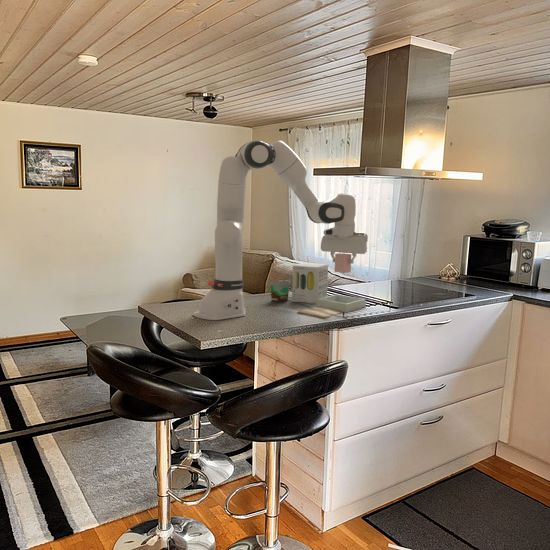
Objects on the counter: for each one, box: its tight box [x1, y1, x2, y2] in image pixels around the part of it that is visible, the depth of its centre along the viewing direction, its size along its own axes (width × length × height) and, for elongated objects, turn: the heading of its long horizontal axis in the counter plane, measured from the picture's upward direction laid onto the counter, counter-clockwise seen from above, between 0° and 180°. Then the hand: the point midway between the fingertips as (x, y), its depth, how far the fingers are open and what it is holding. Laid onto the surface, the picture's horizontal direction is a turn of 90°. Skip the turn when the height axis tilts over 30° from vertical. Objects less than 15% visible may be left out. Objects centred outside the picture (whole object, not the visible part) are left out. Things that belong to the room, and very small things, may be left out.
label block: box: [334, 252, 352, 274], centre depth 222 cm, size 5×5×8 cm
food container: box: [269, 277, 292, 303], centre depth 237 cm, size 12×6×10 cm, turn 143°
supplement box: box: [291, 261, 329, 305], centre depth 238 cm, size 13×13×18 cm
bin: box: [316, 293, 367, 313], centre depth 225 cm, size 15×15×4 cm
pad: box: [297, 305, 345, 320], centre depth 214 cm, size 14×14×1 cm
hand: (342, 262), depth 222 cm, fingers closed on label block, 6 cm apart
